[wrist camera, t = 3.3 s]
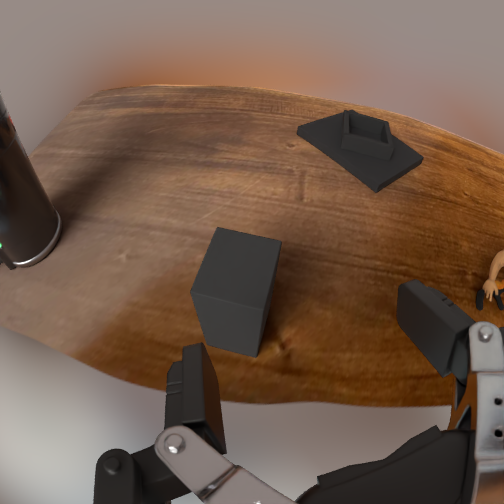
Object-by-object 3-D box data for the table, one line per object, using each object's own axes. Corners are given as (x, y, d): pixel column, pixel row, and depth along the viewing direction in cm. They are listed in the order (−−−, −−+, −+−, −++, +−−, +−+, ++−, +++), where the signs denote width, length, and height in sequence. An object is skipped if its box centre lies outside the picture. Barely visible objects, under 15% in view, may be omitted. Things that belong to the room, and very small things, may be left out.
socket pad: (375, 193, 38) (385, 170, 35) (296, 134, 45) (299, 112, 42) (420, 164, 43) (429, 145, 40) (350, 116, 50) (355, 98, 47)
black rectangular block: (256, 358, 25) (264, 310, 17) (206, 344, 26) (189, 291, 18) (270, 306, 28) (282, 240, 20) (223, 295, 29) (216, 226, 21)
